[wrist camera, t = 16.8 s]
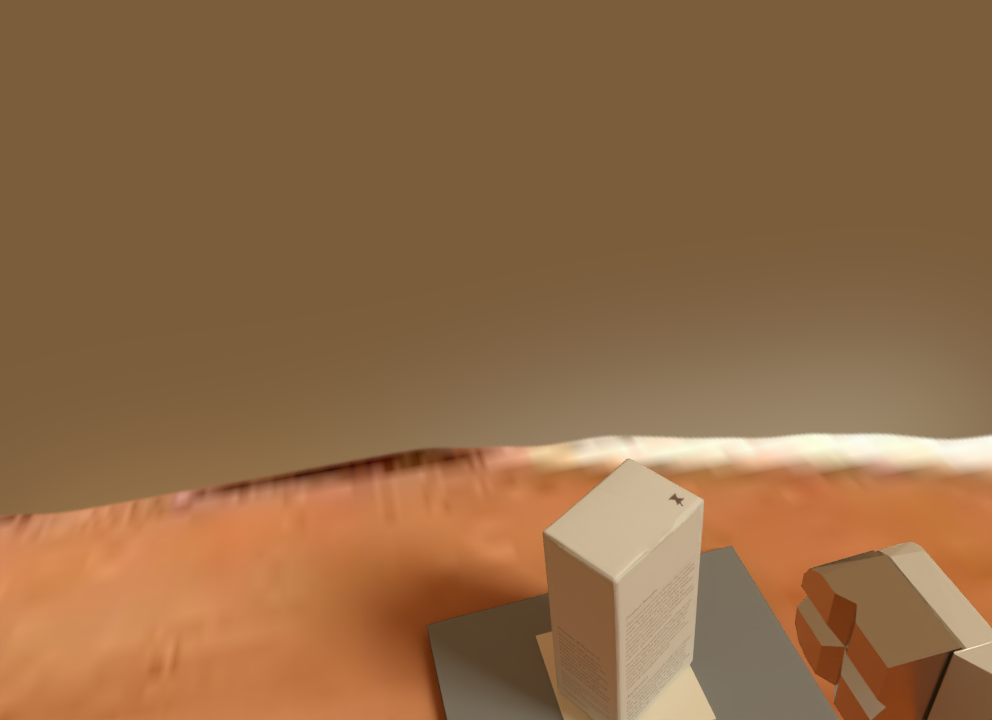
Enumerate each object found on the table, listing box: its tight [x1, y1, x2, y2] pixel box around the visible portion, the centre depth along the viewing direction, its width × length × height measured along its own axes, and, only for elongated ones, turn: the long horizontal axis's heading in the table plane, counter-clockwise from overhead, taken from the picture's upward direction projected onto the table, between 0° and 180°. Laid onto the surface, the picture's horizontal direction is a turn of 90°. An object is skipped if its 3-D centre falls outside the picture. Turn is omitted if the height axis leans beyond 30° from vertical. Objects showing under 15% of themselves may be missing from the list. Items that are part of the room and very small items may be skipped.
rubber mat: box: [427, 546, 839, 720], centre depth 44 cm, size 18×12×1 cm, turn 104°
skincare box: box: [543, 459, 704, 720], centre depth 40 cm, size 6×4×12 cm
